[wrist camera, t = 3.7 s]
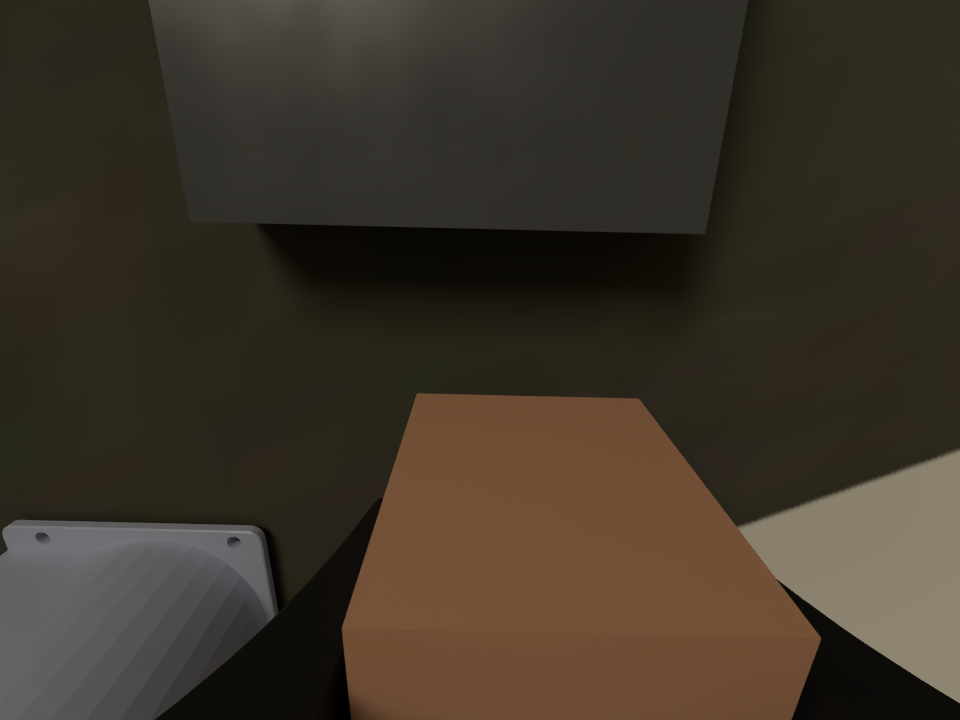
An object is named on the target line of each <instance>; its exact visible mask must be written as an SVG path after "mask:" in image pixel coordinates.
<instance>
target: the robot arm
mask: <svg viewBox="0 0 960 720" xmlns="http://www.w3.org/2000/svg"><path fill="white" fill-rule="evenodd" d="M382 501H383V498H379V499H378V500H377V501H376V502H375V503H374V504H373V505H372V507H371V508H370V509H369V511H368V512H367V513H366V514H365V516H364V517H363V518H362V520H361V521H360V522H359V523H358V525H357V526H356V527H355V528H354V530H353V531H352V532H351V533H350V535H349V536H348V537H347V538H346V540H345V541H344V542H343V543H342V544H341V546H340V547H339V548H338V549H337V550H336V551H335V552H334V554H333V555H332V556H331V557H330V558H329V559H328V561H327V562H326V563H325V564H324V565H323V566H322V567H321V569H320V570H319V571H318V572H317V573H316V574H315V575H314V576H313V577H312V579H311V580H310V581H309V582H308V583H307V584H306V585H305V586H304V587H303V588H302V589H301V590H300V591H299V592H298V593H297V594H296V595H295V596H294V597H293V598H292V599H291V600H290V601H289V603H288V604H287V605H286V606H285V607H284V608H283V609H282V610H281V611H280V612H279V613H278V607H277V601H276V595H275V589H274V583H273V577H272V571H271V565H270V559H269V553H268V547H267V541H266V536H265V534H264V532H263V531H262V530H261V529H260V528H258V527H256V526H251V525H211V524H169V523H127V522H85V521H43V520H16V521H14V522H12V523H11V524H10V525H8V526H7V527H5V528H4V530H3V538H4V540H5V543H6V545H7V548H8V550H7V551H6V552H5V553H3V554H2V555H1V556H0V720H351V714H350V704H349V694H348V684H347V675H346V665H345V655H344V645H343V635H342V626H343V623H344V620H345V617H346V614H347V610H348V607H349V604H350V601H351V598H352V595H353V592H354V589H355V586H356V582H357V579H358V576H359V573H360V570H361V567H362V564H363V561H364V557H365V554H366V551H367V548H368V545H369V542H370V539H371V536H372V533H373V529H374V526H375V523H376V520H377V517H378V514H379V511H380V508H381V504H382ZM234 537H236V538H238V539H239V540H240V541H239V540H236V539H235V538H234ZM777 581H778V580H777ZM778 582H779V581H778ZM779 583H780V585H781V586H782V587H783V589H784V590H785V591H786V593H787V594H788V595H789V596H790V598H791V599H792V600H793V602H794V603H795V604H796V606H797V607H798V608H799V610H800V611H801V612H802V614H803V615H804V616H805V617H806V619H807V620H808V621H809V623H810V624H811V625H812V627H813V628H814V629H815V631H816V632H817V633H818V635H819V636H820V637H821V641H820V644H819V646H818V649H817V652H816V654H815V657H814V660H813V663H812V665H811V668H810V671H809V673H808V676H807V679H806V682H805V684H804V687H803V690H802V692H801V695H800V698H799V700H798V703H797V706H796V709H795V711H794V714H793V717H792V719H791V720H960V703H958V702H957V701H955V700H953V699H952V698H950V697H948V696H947V695H945V694H943V693H942V692H940V691H938V690H937V689H935V688H934V687H932V686H930V685H929V684H927V683H925V682H924V681H922V680H920V679H919V678H917V677H916V676H914V675H913V674H911V673H910V672H908V671H907V670H905V669H903V668H902V667H901V666H899V665H897V664H896V663H894V662H893V661H891V660H890V659H888V658H887V657H885V656H883V655H882V654H880V653H879V652H877V651H876V650H874V649H873V648H871V647H870V646H868V645H867V644H865V643H864V642H862V641H861V640H859V639H858V638H856V637H855V636H853V635H852V634H850V633H849V632H848V631H846V630H844V629H843V628H842V627H840V626H839V625H838V624H836V623H835V622H834V621H832V620H831V619H829V618H828V617H826V616H825V615H824V614H823V613H821V612H820V611H818V610H817V609H816V608H814V607H813V606H812V605H810V604H809V603H807V602H806V601H805V600H803V599H802V598H801V597H799V596H798V595H797V594H795V593H794V592H793V591H791V590H790V589H789V588H787V587H786V586H785V585H783V584H782V583H781V582H779Z"/></svg>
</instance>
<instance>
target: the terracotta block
mask: <svg viewBox="0 0 960 720" xmlns="http://www.w3.org/2000/svg"><path fill="white" fill-rule="evenodd" d="M342 635H343V645H344V655H345V665H346V675H347V684H348V694H349V704H350V714H351V720H791V719H792V717H793V714H794V711H795V709H796V706H797V703H798V700H799V698H800V695H801V692H802V690H803V687H804V684H805V682H806V679H807V676H808V673H809V671H810V668H811V665H812V663H813V660H814V657H815V654H816V652H817V649H818V646H819V644H820V641H821V637H820V636H819V635H818V633H817V632H816V631H815V629H814V628H813V627H812V625H811V624H810V623H809V621H808V620H807V619H806V617H805V616H804V615H803V614H802V612H801V611H800V610H799V608H798V607H797V606H796V604H795V603H794V602H793V600H792V599H791V598H790V596H789V595H788V594H787V593H786V591H785V590H784V589H783V587H782V586H781V585H780V583H779V582H778V581H777V579H776V578H775V577H774V576H773V574H772V573H771V572H770V570H769V569H768V568H767V566H766V565H765V564H764V562H763V561H762V560H761V558H760V557H759V556H758V555H757V553H756V552H755V551H754V549H753V548H752V547H751V546H750V544H749V543H748V541H747V540H746V539H745V538H744V536H743V535H742V534H741V532H740V531H739V530H738V528H737V527H736V526H735V524H734V523H733V522H732V520H731V519H730V518H729V516H728V515H727V514H726V513H725V511H724V510H723V509H722V507H721V506H720V505H719V503H718V502H717V501H716V499H715V498H714V497H713V495H712V494H711V493H710V492H709V490H708V489H707V488H706V486H705V485H704V484H703V482H702V481H701V480H700V478H699V477H698V476H697V474H696V473H695V472H694V471H693V469H692V468H691V467H690V465H689V464H688V463H687V461H686V460H685V459H684V457H683V456H682V455H681V454H680V452H679V451H678V450H677V448H676V447H675V446H674V444H673V443H672V442H671V440H670V439H669V438H668V436H667V435H666V434H665V433H664V431H663V430H662V429H661V427H660V426H659V425H658V423H657V422H656V421H655V419H654V418H653V417H652V415H651V414H650V413H649V412H648V410H647V409H646V408H645V406H644V405H643V404H642V402H641V401H640V400H639V399H627V398H585V397H543V396H501V395H459V394H417V395H416V398H415V402H414V405H413V408H412V411H411V414H410V417H409V420H408V423H407V427H406V430H405V433H404V436H403V439H402V442H401V445H400V448H399V451H398V455H397V458H396V461H395V464H394V467H393V470H392V473H391V476H390V480H389V483H388V486H387V489H386V492H385V495H384V498H383V501H382V504H381V508H380V511H379V514H378V517H377V520H376V523H375V526H374V529H373V533H372V536H371V539H370V542H369V545H368V548H367V551H366V554H365V557H364V561H363V564H362V567H361V570H360V573H359V576H358V579H357V582H356V586H355V589H354V592H353V595H352V598H351V601H350V604H349V607H348V610H347V614H346V617H345V620H344V623H343V626H342Z"/></svg>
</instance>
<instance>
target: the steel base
mask: <svg viewBox="0 0 960 720" xmlns="http://www.w3.org/2000/svg"><path fill="white" fill-rule="evenodd" d="M149 5H150V10H151V16H152V21H153V27H154V32H155V37H156V43H157V48H158V54H159V59H160V64H161V70H162V75H163V81H164V86H165V92H166V97H167V102H168V108H169V113H170V119H171V124H172V129H173V135H174V140H175V146H176V151H177V156H178V162H179V167H180V173H181V178H182V183H183V189H184V194H185V200H186V205H187V210H188V216H189V221H190V222H225V223H265V224H306V225H346V226H387V227H427V228H468V229H508V230H549V231H589V232H630V233H670V234H705V233H706V227H707V222H708V217H709V211H710V206H711V200H712V195H713V190H714V184H715V179H716V173H717V168H718V162H719V157H720V152H721V146H722V141H723V135H724V130H725V125H726V119H727V114H728V108H729V103H730V98H731V92H732V87H733V81H734V76H735V70H736V65H737V60H738V54H739V49H740V43H741V38H742V33H743V27H744V22H745V16H746V11H747V5H748V0H149Z"/></svg>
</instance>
